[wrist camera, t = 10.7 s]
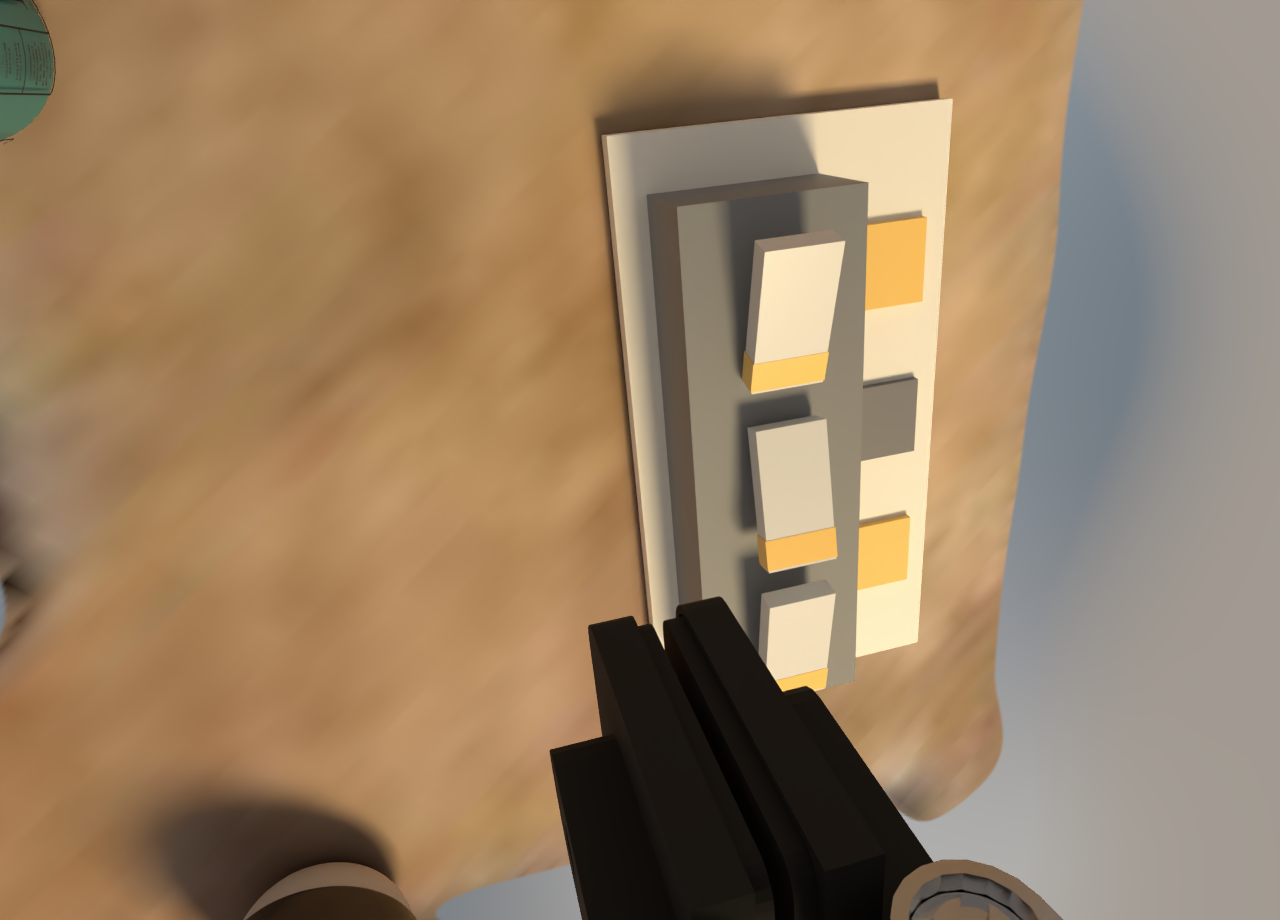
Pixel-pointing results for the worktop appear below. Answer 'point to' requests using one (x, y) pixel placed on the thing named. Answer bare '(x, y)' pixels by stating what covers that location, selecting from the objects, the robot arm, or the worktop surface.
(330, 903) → the black egg-shaped figure
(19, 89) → the beverage bottle
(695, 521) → the switch unit
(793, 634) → the plate
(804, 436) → the block
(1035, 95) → the worktop surface
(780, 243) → the plate
